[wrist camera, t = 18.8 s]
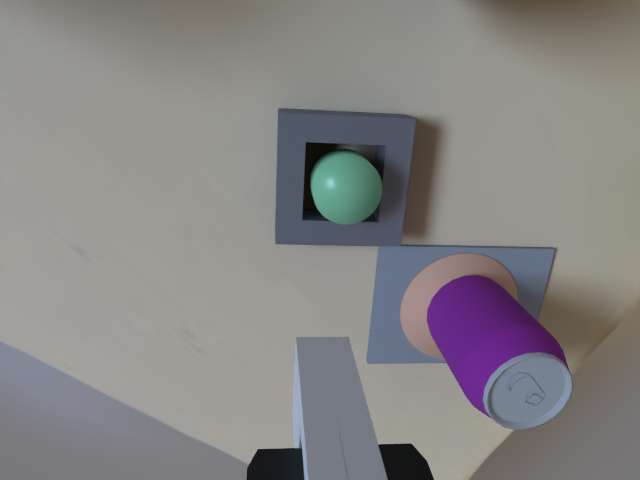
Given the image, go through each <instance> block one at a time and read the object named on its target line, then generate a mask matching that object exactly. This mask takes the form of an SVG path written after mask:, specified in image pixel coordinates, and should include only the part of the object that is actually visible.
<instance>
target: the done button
mask: <svg viewBox="0 0 640 480" xmlns="http://www.w3.org/2000/svg"><path fill="white" fill-rule="evenodd" d="M310 189H311V192H312V195H313V199H314V202H315V205H316V207H317V209H318V210H319V212H320V213H321V214H322V215H323V216H324V217H325V218H327V219H328V220H330V221H332V222H334V223H338V224H345V225H347V224H355V223H358V222H360V221H363V220H364V219H366V218H367V217H369V216H370V215H371V214H372V213H373V212H374V211H375V210H376V208H377V206H378V205H379V202H380V200H381V197H382V182H381V178H380V175H379V174H378V172H377V170H376V169H375V168H374V167H373V166H372V164H371V163H370V162H369V161H368V160H367V159H366V158H365V157H364V156H363V155H361V154H360V153H358V152H356V151H354V150H350V149H336V150H333V151H330V152H328V153H326V154H325V155H323V156H322V157H321V158H320V159H319V160H318V161H317V162H316V163H315V165H314V167H313V169H312V171H311V175H310Z"/></svg>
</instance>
